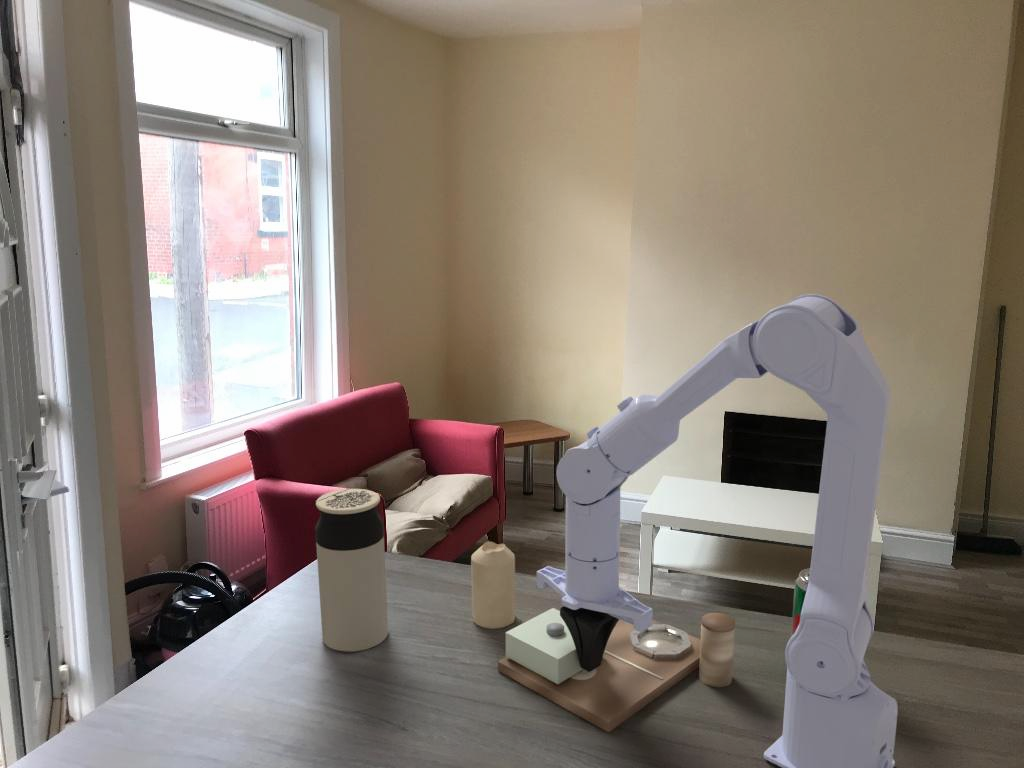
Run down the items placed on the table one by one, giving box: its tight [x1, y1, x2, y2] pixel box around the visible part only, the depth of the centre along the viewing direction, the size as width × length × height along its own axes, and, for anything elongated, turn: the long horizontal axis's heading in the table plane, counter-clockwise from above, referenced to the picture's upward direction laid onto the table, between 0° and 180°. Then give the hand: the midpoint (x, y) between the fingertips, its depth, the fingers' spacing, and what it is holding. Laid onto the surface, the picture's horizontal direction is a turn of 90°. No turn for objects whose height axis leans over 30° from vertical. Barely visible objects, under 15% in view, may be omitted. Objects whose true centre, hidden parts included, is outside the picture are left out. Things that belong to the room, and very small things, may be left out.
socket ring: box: [630, 623, 691, 659], centre depth 97 cm, size 7×7×1 cm
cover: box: [505, 607, 605, 684], centre depth 93 cm, size 8×8×4 cm
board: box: [497, 619, 701, 733], centre depth 95 cm, size 16×20×1 cm
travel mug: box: [315, 488, 389, 653], centre depth 99 cm, size 8×8×18 cm
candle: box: [470, 541, 516, 630], centre depth 104 cm, size 6×6×10 cm
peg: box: [698, 612, 736, 688], centre depth 91 cm, size 4×4×7 cm
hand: (590, 666), depth 90 cm, fingers closed
